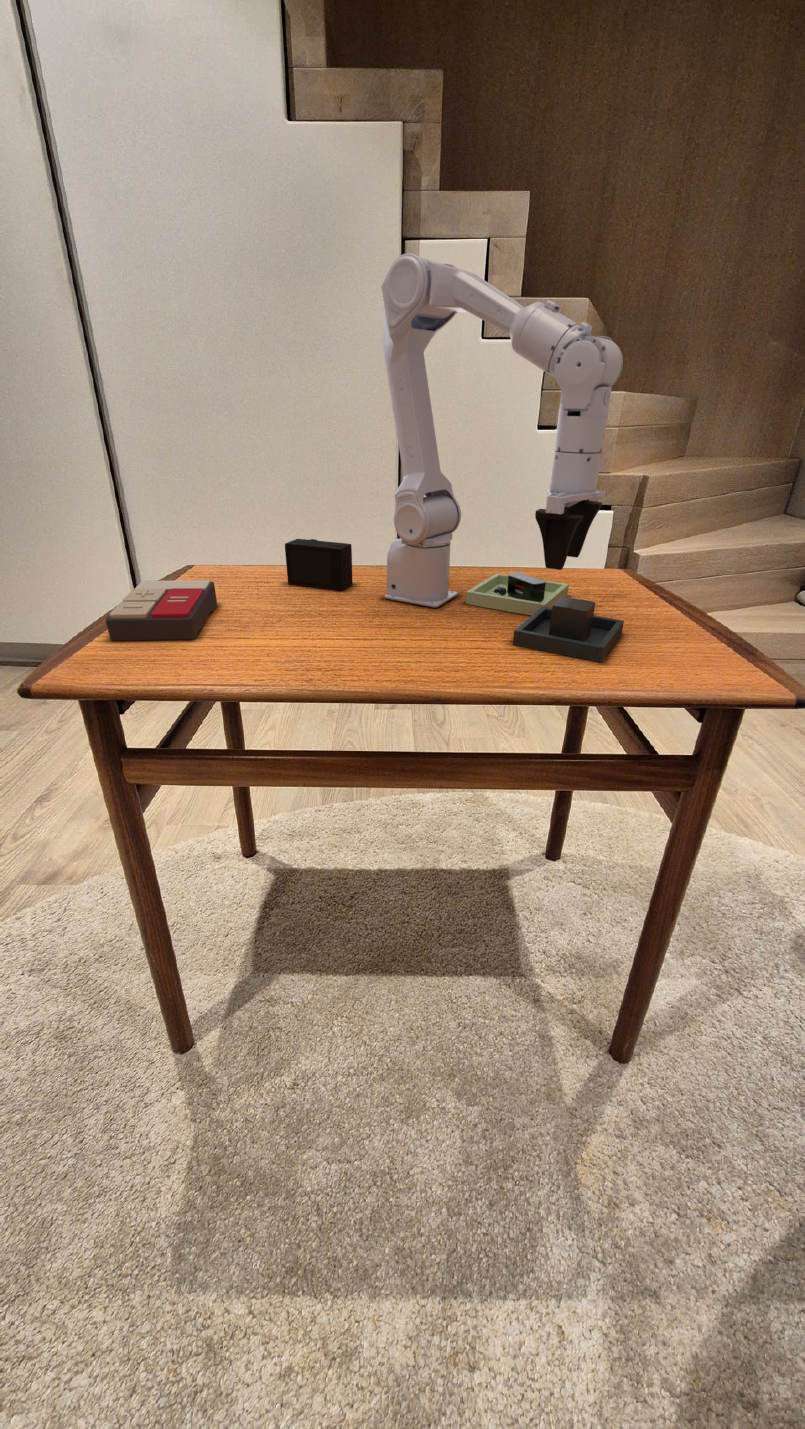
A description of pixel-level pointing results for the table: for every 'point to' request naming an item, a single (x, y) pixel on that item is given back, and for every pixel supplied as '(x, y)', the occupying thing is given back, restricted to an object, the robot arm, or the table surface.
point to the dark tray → (592, 648)
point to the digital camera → (319, 564)
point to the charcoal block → (572, 618)
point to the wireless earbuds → (524, 587)
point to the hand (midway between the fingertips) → (562, 562)
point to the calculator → (163, 610)
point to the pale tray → (489, 599)
